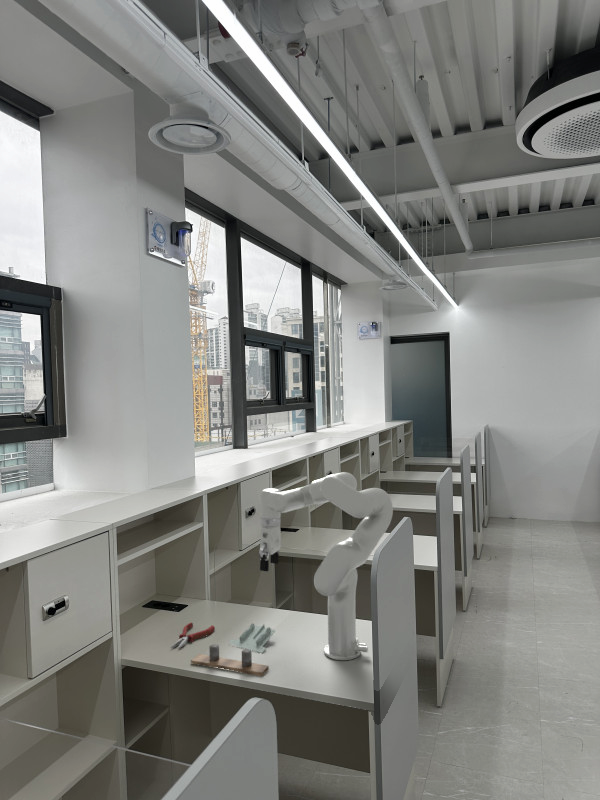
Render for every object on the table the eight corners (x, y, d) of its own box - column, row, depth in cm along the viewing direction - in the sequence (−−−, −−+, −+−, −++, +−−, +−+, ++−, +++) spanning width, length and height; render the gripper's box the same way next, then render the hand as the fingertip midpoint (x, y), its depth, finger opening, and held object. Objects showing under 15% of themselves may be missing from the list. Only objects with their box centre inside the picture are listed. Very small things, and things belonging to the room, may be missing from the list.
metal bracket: (247, 618, 210) (280, 625, 202) (250, 631, 212) (283, 639, 204) (224, 642, 198) (259, 651, 191) (227, 656, 200) (262, 665, 192)
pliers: (160, 649, 198) (160, 642, 198) (189, 627, 217) (189, 621, 217) (188, 654, 194) (188, 646, 194) (216, 631, 213) (216, 624, 213)
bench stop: (268, 669, 180) (268, 652, 181) (262, 676, 176) (261, 659, 176) (199, 657, 190) (198, 641, 190) (191, 663, 185) (190, 647, 185)
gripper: (270, 528, 201) (269, 575, 201) (288, 518, 217) (287, 561, 217) (251, 525, 203) (250, 572, 203) (270, 516, 219) (269, 559, 220)
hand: (269, 566), depth 210 cm, fingers open, 9 cm apart
